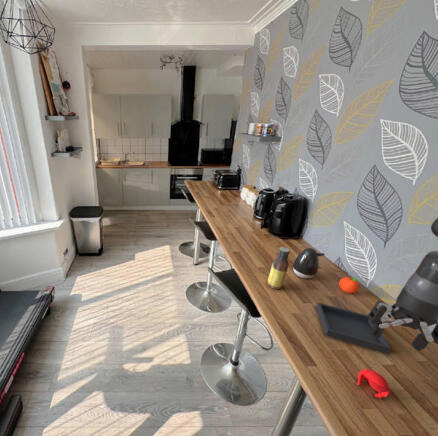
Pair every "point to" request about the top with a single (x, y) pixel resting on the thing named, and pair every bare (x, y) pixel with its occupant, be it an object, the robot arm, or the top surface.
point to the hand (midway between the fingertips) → (394, 341)
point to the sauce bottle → (279, 269)
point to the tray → (350, 327)
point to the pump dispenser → (307, 263)
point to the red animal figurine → (375, 382)
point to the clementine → (349, 285)
